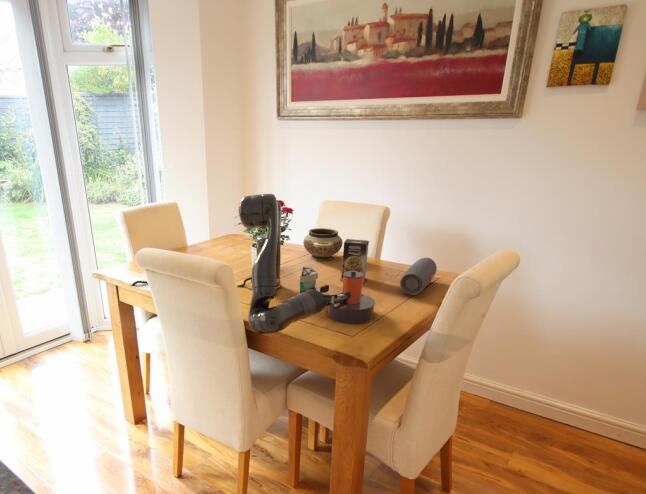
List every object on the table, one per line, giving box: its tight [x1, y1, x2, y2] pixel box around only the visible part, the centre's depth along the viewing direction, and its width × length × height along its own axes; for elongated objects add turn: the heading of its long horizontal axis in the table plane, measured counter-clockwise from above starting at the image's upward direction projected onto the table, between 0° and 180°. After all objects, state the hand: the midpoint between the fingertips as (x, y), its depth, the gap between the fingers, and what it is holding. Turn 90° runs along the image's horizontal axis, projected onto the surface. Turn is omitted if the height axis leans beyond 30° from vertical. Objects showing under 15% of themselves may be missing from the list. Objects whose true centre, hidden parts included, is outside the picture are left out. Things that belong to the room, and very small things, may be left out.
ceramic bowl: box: [303, 227, 344, 262], centre depth 215 cm, size 24×18×15 cm
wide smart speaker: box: [327, 292, 376, 324], centre depth 155 cm, size 15×15×5 cm
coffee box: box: [340, 238, 370, 284], centre depth 185 cm, size 9×6×16 cm
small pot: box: [341, 271, 364, 304], centre depth 152 cm, size 7×7×10 cm
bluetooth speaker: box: [399, 257, 438, 296], centre depth 175 cm, size 23×9×10 cm, turn 147°
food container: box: [299, 266, 319, 294], centre depth 170 cm, size 12×6×10 cm, turn 168°
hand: (338, 291), depth 148 cm, fingers open, 8 cm apart
